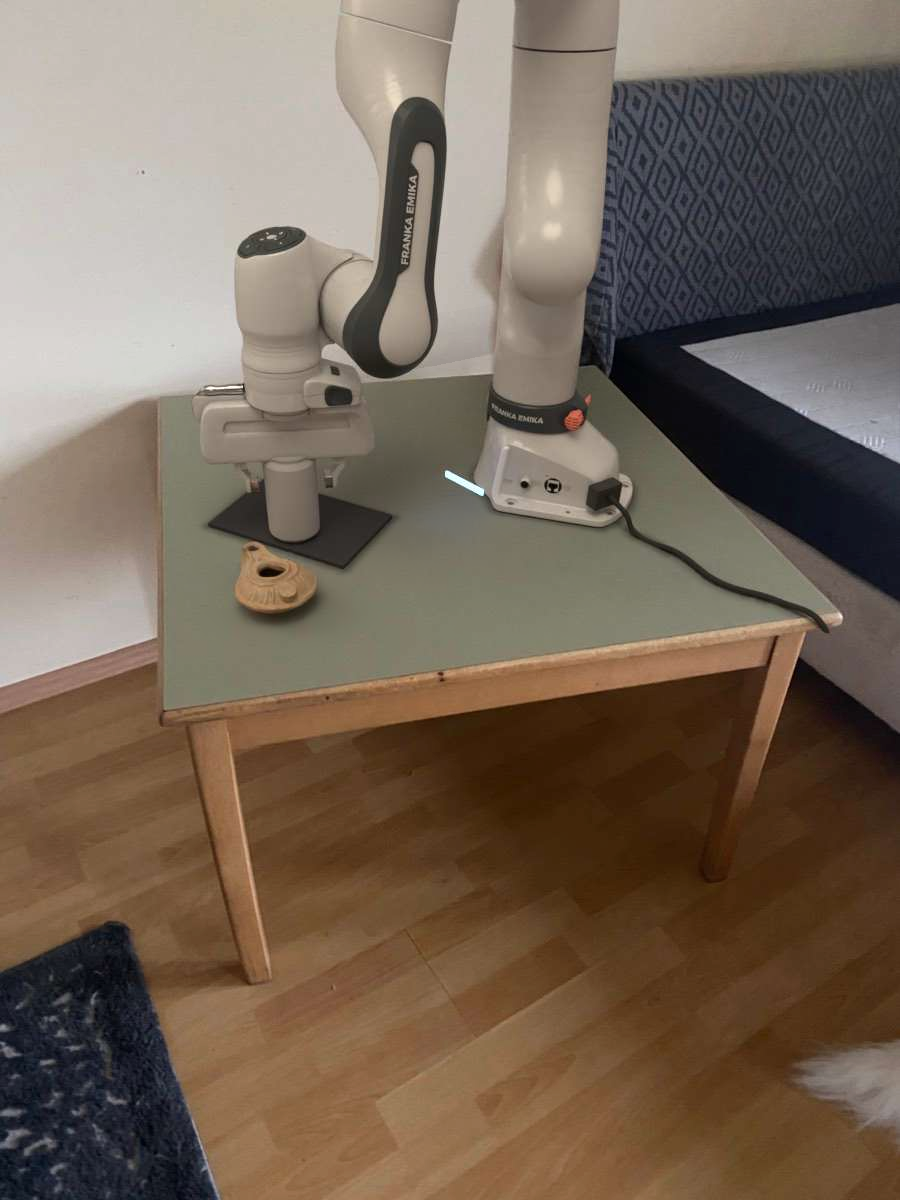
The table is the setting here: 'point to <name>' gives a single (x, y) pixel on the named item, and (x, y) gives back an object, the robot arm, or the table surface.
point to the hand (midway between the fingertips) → (292, 487)
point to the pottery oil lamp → (272, 581)
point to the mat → (332, 544)
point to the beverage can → (292, 498)
